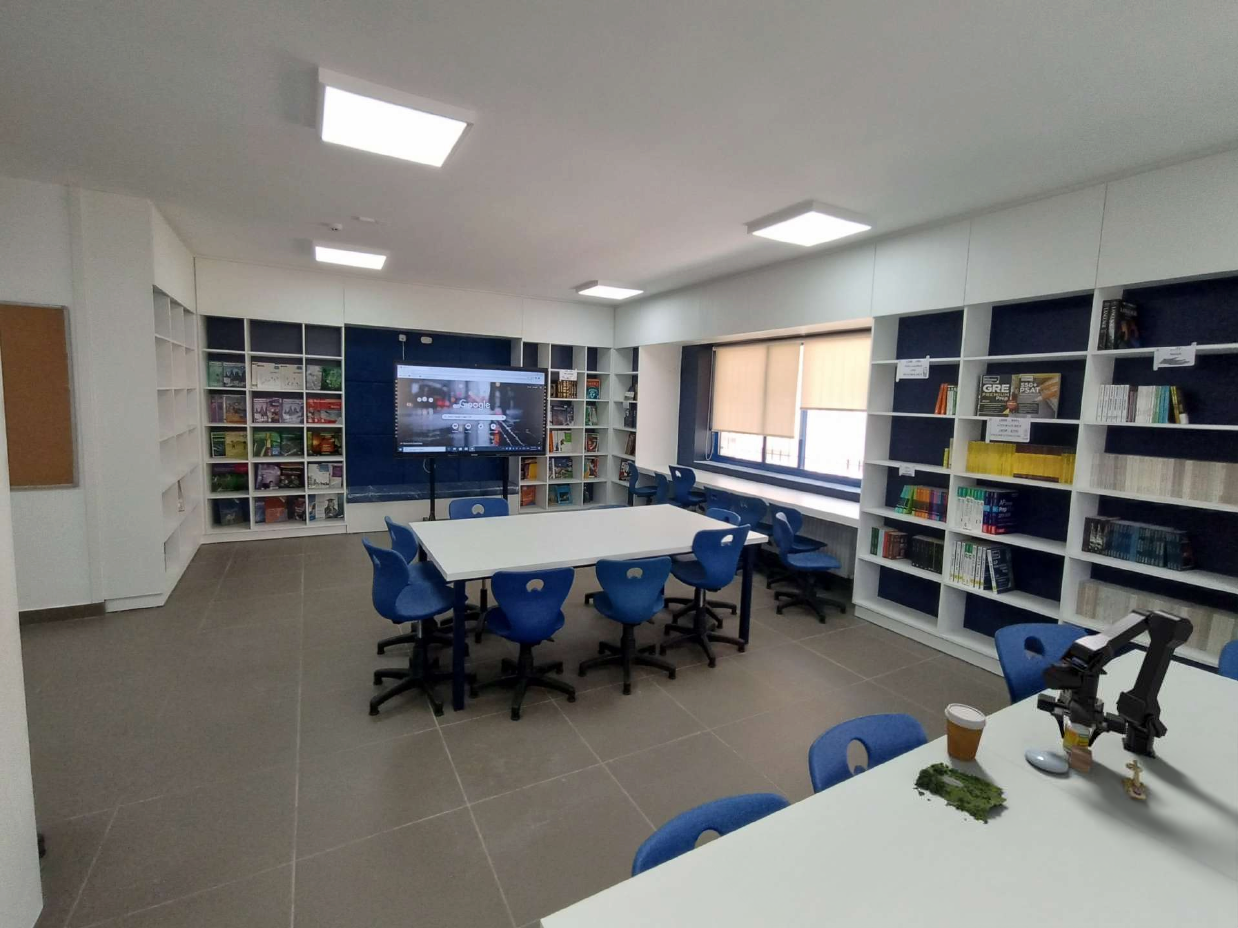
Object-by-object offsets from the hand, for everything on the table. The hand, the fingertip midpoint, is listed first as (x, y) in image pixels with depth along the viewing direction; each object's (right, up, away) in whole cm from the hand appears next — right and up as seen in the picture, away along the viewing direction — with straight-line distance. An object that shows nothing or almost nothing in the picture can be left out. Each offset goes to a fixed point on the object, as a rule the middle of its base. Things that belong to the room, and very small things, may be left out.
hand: (1075, 742), depth 154 cm
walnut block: (-4, -3, -7) cm, 8 cm away
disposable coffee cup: (-34, -2, -4) cm, 34 cm away
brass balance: (+3, -4, -15) cm, 15 cm away
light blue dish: (-13, -3, -6) cm, 15 cm away
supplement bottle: (0, -3, 0) cm, 3 cm away
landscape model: (-43, -4, -19) cm, 48 cm away
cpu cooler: (+18, -1, +21) cm, 27 cm away
